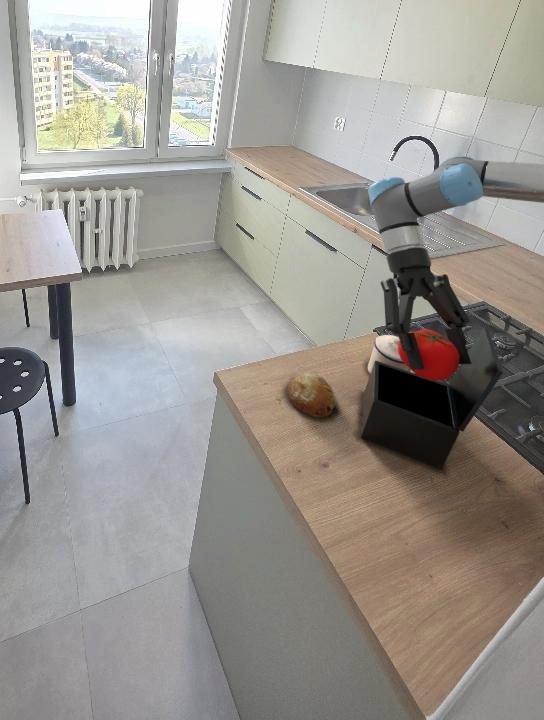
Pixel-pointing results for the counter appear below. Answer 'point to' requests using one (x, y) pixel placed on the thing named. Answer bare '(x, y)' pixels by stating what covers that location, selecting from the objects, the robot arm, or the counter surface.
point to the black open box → (409, 415)
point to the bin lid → (475, 379)
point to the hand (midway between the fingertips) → (441, 366)
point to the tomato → (433, 355)
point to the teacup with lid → (387, 352)
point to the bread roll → (312, 395)
